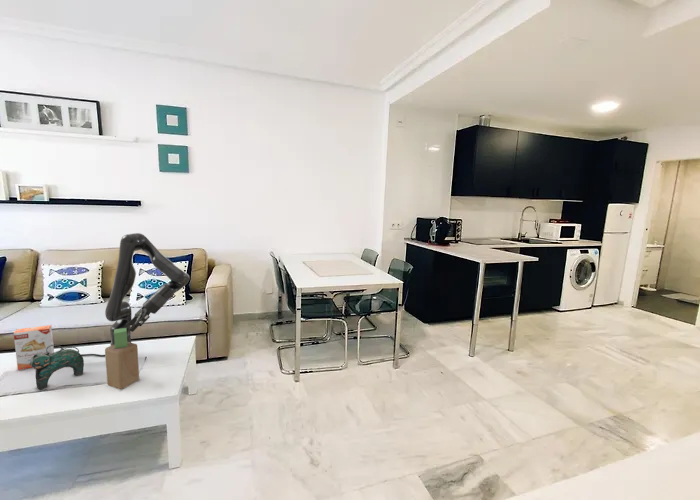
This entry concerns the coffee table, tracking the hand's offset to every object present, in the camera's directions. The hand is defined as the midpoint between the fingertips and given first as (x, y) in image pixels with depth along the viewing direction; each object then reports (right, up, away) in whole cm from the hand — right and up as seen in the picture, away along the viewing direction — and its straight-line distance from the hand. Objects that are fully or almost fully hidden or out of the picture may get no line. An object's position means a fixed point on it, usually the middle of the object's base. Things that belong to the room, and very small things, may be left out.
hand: (130, 327), depth 163 cm
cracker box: (-60, -24, +14) cm, 66 cm away
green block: (-4, -9, -1) cm, 10 cm away
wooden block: (-5, -29, +2) cm, 29 cm away
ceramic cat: (-36, -27, +1) cm, 45 cm away
